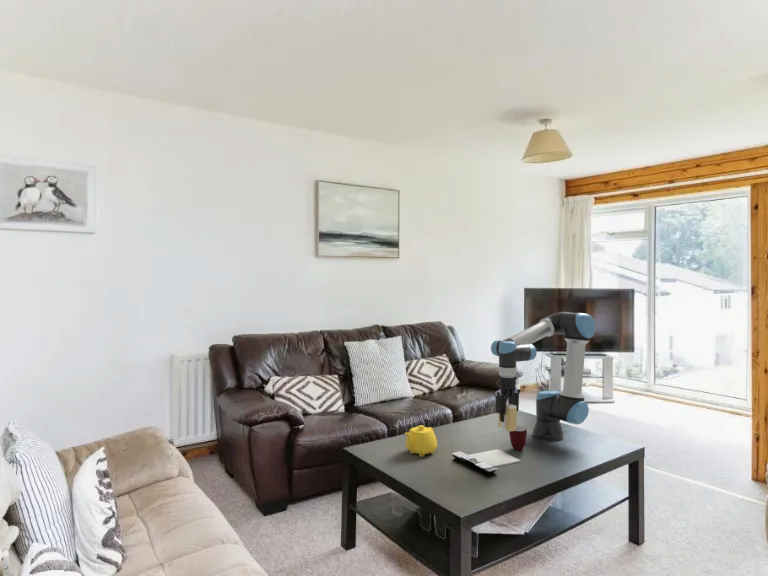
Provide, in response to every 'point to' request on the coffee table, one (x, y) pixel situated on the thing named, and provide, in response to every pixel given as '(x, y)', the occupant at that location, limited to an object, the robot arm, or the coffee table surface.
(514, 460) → the mat
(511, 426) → the slab
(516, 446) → the mug
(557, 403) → the robot arm
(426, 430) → the teapot
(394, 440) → the coffee table surface
